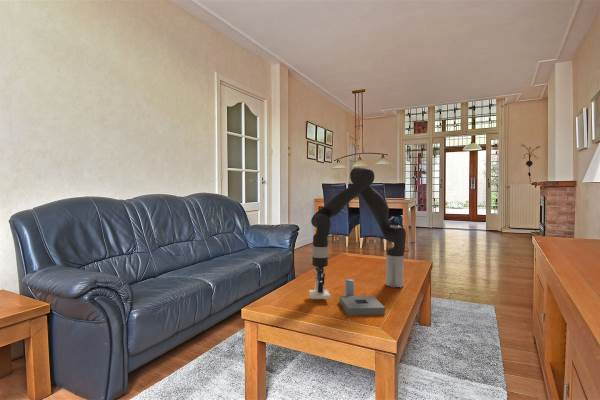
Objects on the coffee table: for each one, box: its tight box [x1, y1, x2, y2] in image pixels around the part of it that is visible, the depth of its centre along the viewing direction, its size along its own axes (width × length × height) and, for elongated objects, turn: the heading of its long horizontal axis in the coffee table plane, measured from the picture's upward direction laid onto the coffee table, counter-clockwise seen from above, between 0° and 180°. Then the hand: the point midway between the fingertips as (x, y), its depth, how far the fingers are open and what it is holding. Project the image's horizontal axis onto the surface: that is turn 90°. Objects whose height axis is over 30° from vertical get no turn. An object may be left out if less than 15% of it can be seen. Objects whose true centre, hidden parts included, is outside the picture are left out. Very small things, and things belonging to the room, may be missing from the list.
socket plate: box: [339, 295, 386, 316], centre depth 148 cm, size 16×16×3 cm
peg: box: [344, 278, 355, 296], centre depth 160 cm, size 4×4×9 cm
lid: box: [308, 280, 332, 300], centre depth 158 cm, size 9×9×6 cm
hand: (319, 291), depth 158 cm, fingers closed on lid, 4 cm apart
